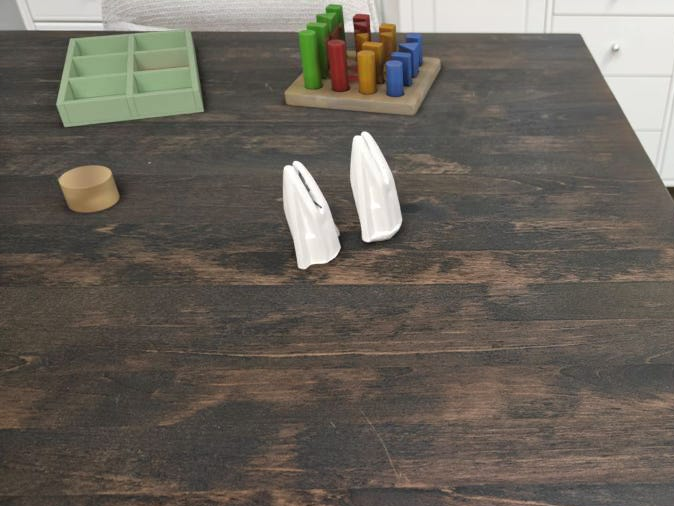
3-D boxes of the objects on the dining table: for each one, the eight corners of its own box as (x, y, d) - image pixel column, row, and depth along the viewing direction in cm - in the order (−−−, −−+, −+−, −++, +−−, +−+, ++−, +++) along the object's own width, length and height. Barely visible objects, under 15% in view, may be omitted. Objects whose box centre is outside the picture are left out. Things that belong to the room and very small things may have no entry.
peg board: (414, 117, 95) (412, 49, 90) (284, 106, 97) (273, 38, 91) (441, 68, 108) (440, 6, 103) (326, 59, 110) (319, -3, 104)
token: (67, 217, 75) (56, 191, 73) (70, 194, 79) (60, 168, 77) (119, 210, 77) (110, 184, 75) (120, 188, 80) (112, 162, 78)
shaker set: (397, 220, 76) (391, 116, 69) (416, 239, 74) (412, 133, 66) (285, 251, 72) (265, 143, 64) (301, 273, 69) (282, 163, 62)
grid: (65, 129, 91) (56, 104, 89) (77, 60, 108) (69, 38, 106) (204, 113, 95) (199, 89, 93) (195, 50, 112) (190, 28, 110)
